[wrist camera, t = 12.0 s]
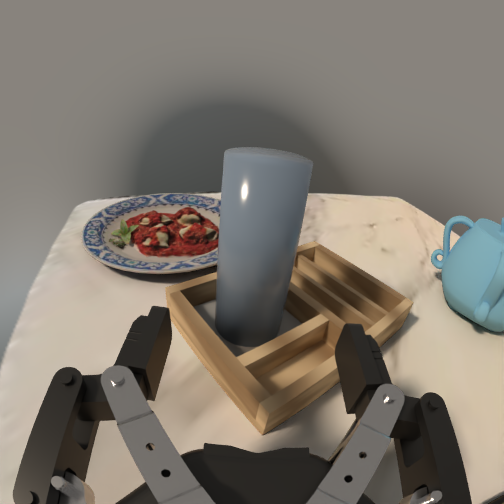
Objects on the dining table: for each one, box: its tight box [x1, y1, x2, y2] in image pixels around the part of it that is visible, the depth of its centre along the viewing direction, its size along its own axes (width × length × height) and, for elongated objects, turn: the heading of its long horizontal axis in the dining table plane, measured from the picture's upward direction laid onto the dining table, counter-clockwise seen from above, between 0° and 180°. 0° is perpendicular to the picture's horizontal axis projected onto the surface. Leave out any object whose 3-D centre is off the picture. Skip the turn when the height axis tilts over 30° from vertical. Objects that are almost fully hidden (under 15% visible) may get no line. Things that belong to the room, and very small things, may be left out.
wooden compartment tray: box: [165, 241, 413, 435], centre depth 28 cm, size 20×15×4 cm
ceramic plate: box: [81, 193, 221, 274], centre depth 42 cm, size 26×26×3 cm
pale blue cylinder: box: [215, 147, 313, 347], centre depth 23 cm, size 6×6×15 cm
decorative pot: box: [431, 216, 504, 332], centre depth 30 cm, size 16×16×14 cm
